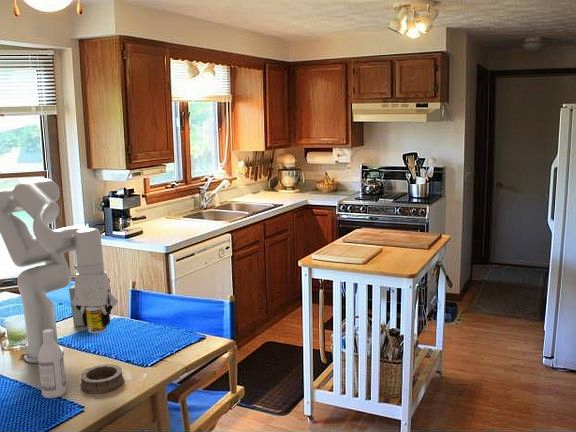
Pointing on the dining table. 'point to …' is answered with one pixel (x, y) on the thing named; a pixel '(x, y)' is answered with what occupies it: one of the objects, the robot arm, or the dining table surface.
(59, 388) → the bath foam
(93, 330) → the supplement bottle
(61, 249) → the robot arm
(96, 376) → the round brown bowl
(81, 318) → the skincare box
